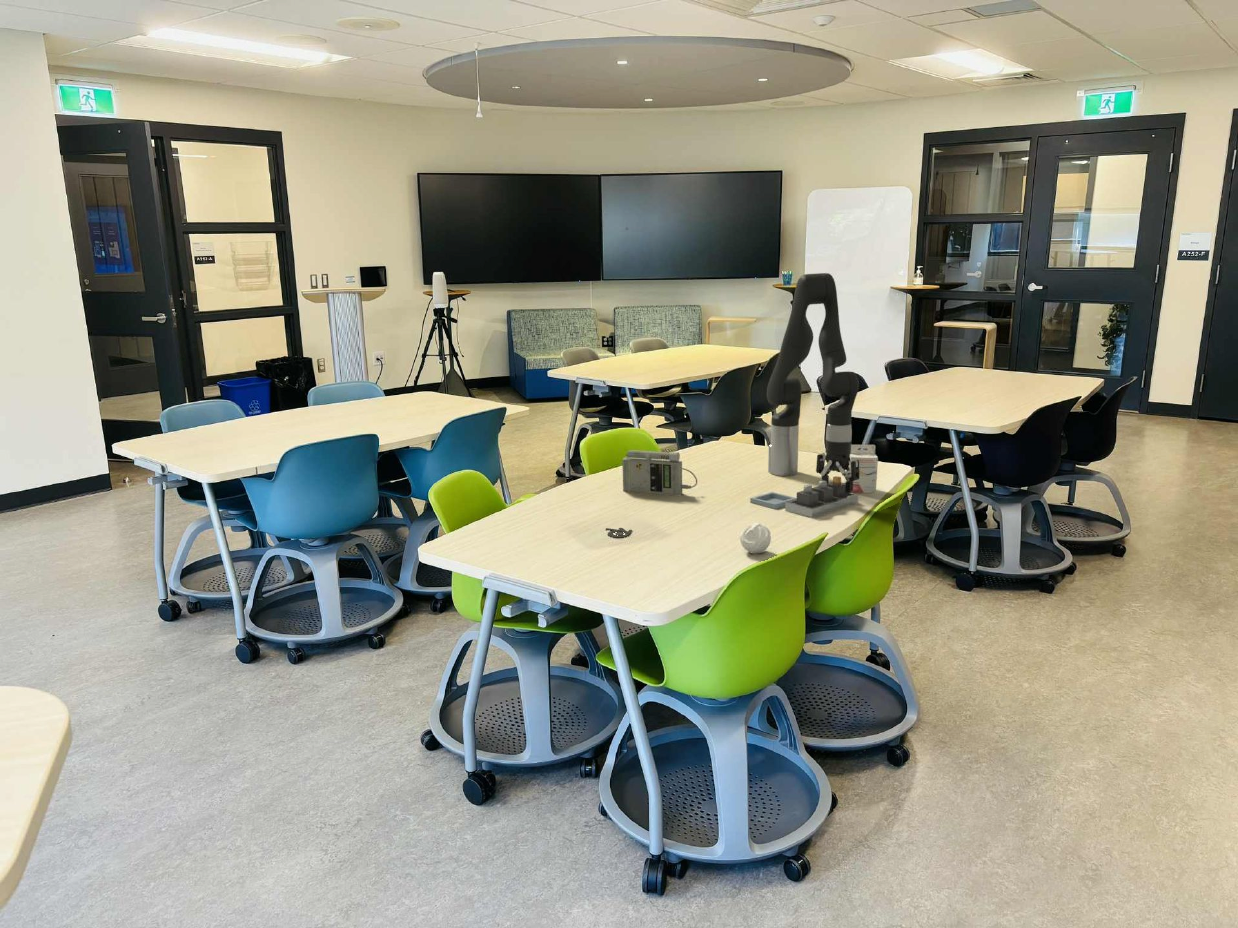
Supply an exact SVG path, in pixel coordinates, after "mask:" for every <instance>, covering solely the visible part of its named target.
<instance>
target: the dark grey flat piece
mask: <svg viewBox="0 0 1238 928" xmlns="http://www.w3.org/2000/svg"><path fill="white" fill-rule="evenodd" d="M605 529H606V530H605V531H607V530H610V531H608V532H607V536H608V537H609V536H610V537H609V538H611V537H613V538H612V539H625V538H628V537H630V536H631V535H632V533H633V530H632V529H629V530H628V531H627V530H626V529H624V528H623V527H619V528H618V529H617V528H610V527H609V528H608V527H607V528H605ZM619 529H620V530H619ZM615 532H617V533H615ZM623 532H624V533H625V535H623V534H624V533H623ZM631 532H632V533H631ZM613 533H615V534H616V535H614V534H613ZM617 535H618V536H617ZM627 536H628V537H627ZM624 537H625V538H624Z"/></svg>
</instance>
